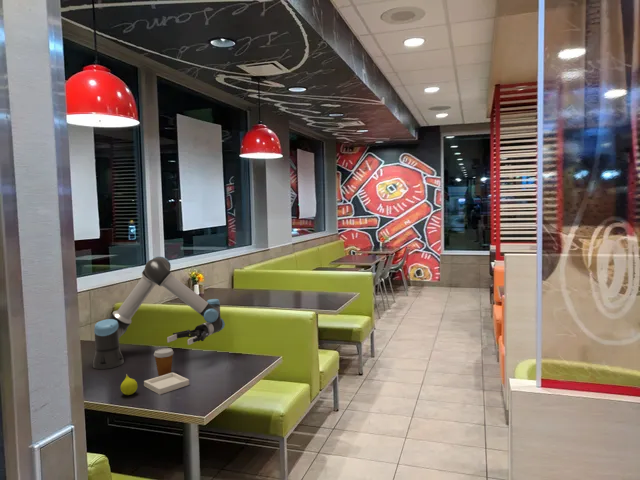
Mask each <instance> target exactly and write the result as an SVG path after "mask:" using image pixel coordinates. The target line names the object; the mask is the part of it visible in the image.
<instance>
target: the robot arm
mask: <svg viewBox="0 0 640 480" xmlns="http://www.w3.org/2000/svg"><path fill="white" fill-rule="evenodd" d="M171 267H172V266H171V261H170V260H169V259H168V258H166V257H164V256H155V257H153V258H152V259H149V260H148V261H147V262H146V263H145V265H144V269H143V271H142V272H141V275H142V276H141V278H140V279H139V280H138V282H137V284H136V285H135V286H134V287H133V289H132V290H131V291H130V293H129V295H128V296H126V298H125V300H124V301H123V303H122V304H121V305H120V306H119V308H118V309H117V310H114V311H113V312H112V313H111V314H110V316H109V317H108V318H107V319H103V320H99V321H98V322H96V323H95V324H94V329H93V333H94V343H95V345H94V346H95V347H94V348H95V354H94V358H93V361H92V367H93V368H94V369H96V370H106V369H113V368H116V367H119V366H121V365H123V364H124V356H123V354H122V352H121V351H122V350H121V349H120V338H121V336H123V335H124V334H125V333H126V332H127V331H128V328H129V326H130V325H131V324H132V322H133V321H132V318H133V317H134V315H135V314H136V312H137V311H138V310H139V308H140V307H141V305H142V304H143V303H144V301H146V298H147V297H148V296H149V294H150V293H151V292H152V290H153V289H154V288H155V286H156V285H158V286H159V287H163V288H165V290H168V291H169V292H170V293H171V294H172V295H174V296H175V297H177V298H178V299H179V300H180V301H182V302H183V303H185V304H186V305H187V306H188V307H190V308H191V309H193V310H194V311H195V312H197V313H198V314H199V315H200V316H202V317H203V320H205V322H203V323H201V324H198V325H196V326H195V327H194V329H191V330H190V329H186V330H183V331H182V330H181V331H178V332H177V331H175V332H173V333H172V335H170V336H167V338H166V340H167V341H166V343H171V342H173V341H176V340H178V339H181V338H182V339H183V338H188V339H187V346H189V345H193V344H194V343H197V342H200V341H201V342H204V341H205V339H206V338H207V337H209V336H211V335H213V334H216V333H219V332H221V331H222V330H223V329H224V328H225V325H226V324H225V321H224V319H223V318H222V317H221V303H220V299H218V298H212V299H211V298H210V299H207V301H206V300H205V299H204V298H202V297H201V296H200V295H199V294H197V293H196V292H195V291H194V290H192V289H191V288H189V287H188V286H187V285H186V284H184V283H183V282H182V281H180V279H178V278H177V277H175V276H174V275H173V272H172V271H171V269H172V268H171Z"/></svg>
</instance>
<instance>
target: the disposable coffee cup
mask: <svg viewBox="0 0 640 480" xmlns="http://www.w3.org/2000/svg"><path fill="white" fill-rule="evenodd" d="M153 356H154V360H155V365H156V370H157V375H158V377H159V376H162V375H166V374H169V373H172V367H173V356H174V351H173V349H172V348H170V347H169V348H168V347H163V348H158V349H156V350H155V351H154V353H153Z"/></svg>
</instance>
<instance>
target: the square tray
mask: <svg viewBox="0 0 640 480" xmlns="http://www.w3.org/2000/svg"><path fill="white" fill-rule="evenodd" d="M143 386H144V387H145V388H147V389H148V390H150V391H152V392H154V393H156V394H158V395H159V396H161V395H163V394H166V393H169V392H171V391H175V390H177V389H181V388H183V387H187V386H190V379H188V378H187V377H184V376H182V375H180V374H177V373H176V372H172V371H171V373H169V374H166V375H162V376H159V375H158V376H156V377H153V378H150V379H146V380H143Z"/></svg>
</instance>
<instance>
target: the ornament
mask: <svg viewBox="0 0 640 480" xmlns="http://www.w3.org/2000/svg"><path fill="white" fill-rule="evenodd" d="M137 390H138V382H137V381H136V379H134V378H132V377H131V378H130V377H129V375H128V373H126V374H125V378H124V380H123V381H122V382H121V384H120V391H121V393H122V394H124V395H125V396H131V395H134V393H136V391H137Z"/></svg>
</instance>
